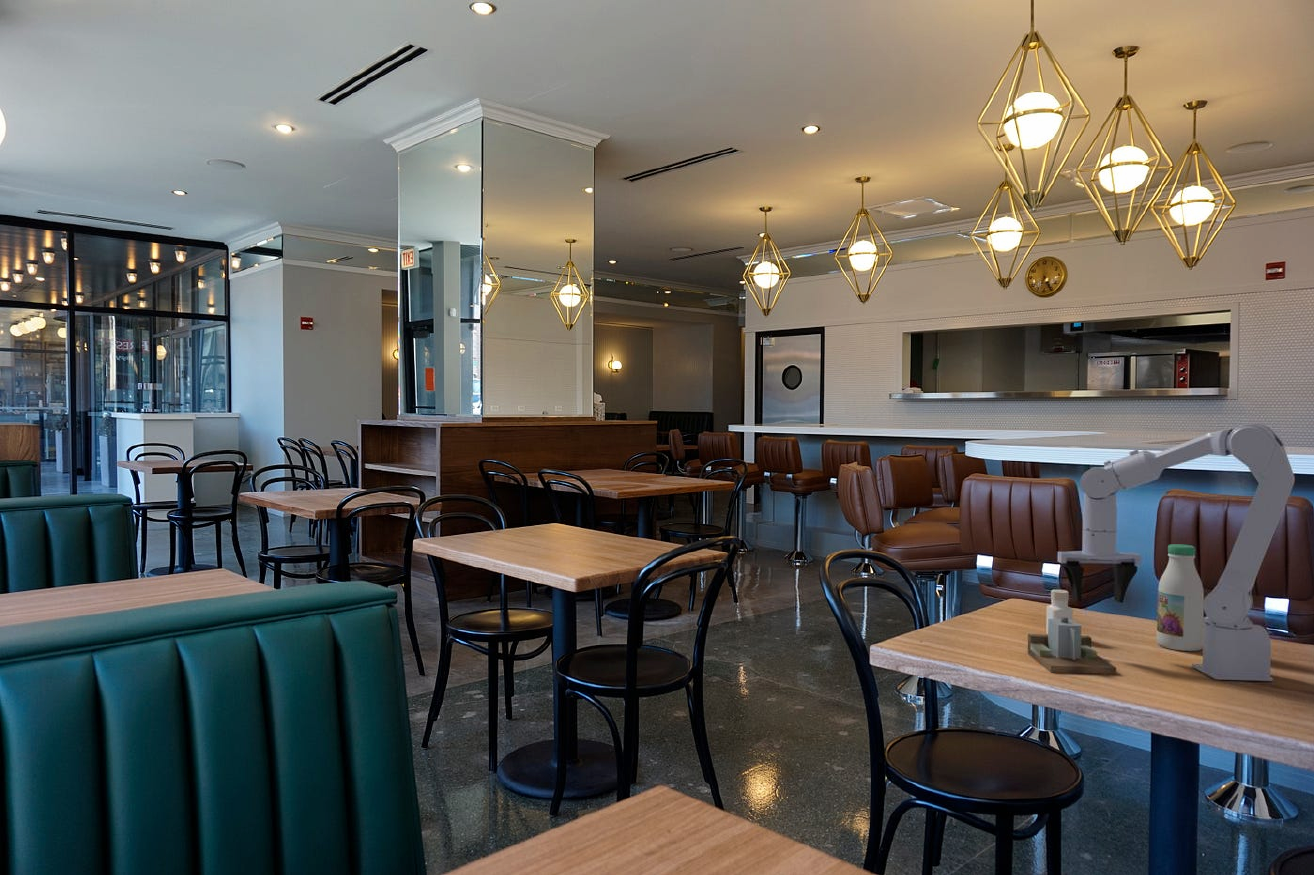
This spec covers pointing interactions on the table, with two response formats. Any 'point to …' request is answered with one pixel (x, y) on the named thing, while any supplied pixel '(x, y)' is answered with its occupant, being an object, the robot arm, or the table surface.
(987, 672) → the table surface
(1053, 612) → the pepper shaker
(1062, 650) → the grey knobbed box
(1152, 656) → the table surface
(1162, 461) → the robot arm
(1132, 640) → the table surface
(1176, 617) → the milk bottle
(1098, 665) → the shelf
